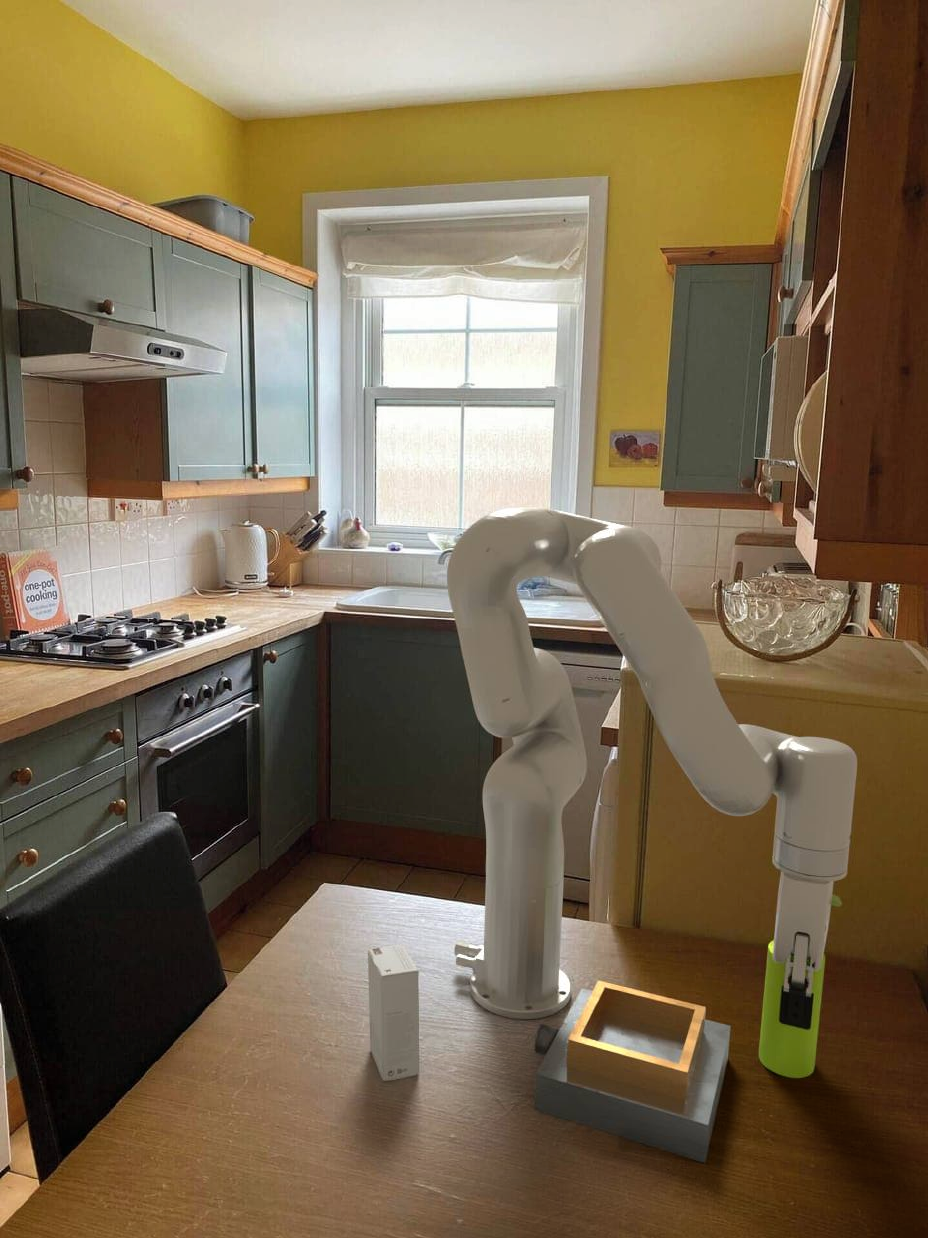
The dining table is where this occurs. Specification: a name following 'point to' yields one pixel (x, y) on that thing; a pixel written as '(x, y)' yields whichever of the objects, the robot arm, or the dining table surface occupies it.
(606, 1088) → the bottle holder tray
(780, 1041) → the green pump bottle
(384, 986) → the skincare box
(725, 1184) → the dining table surface
